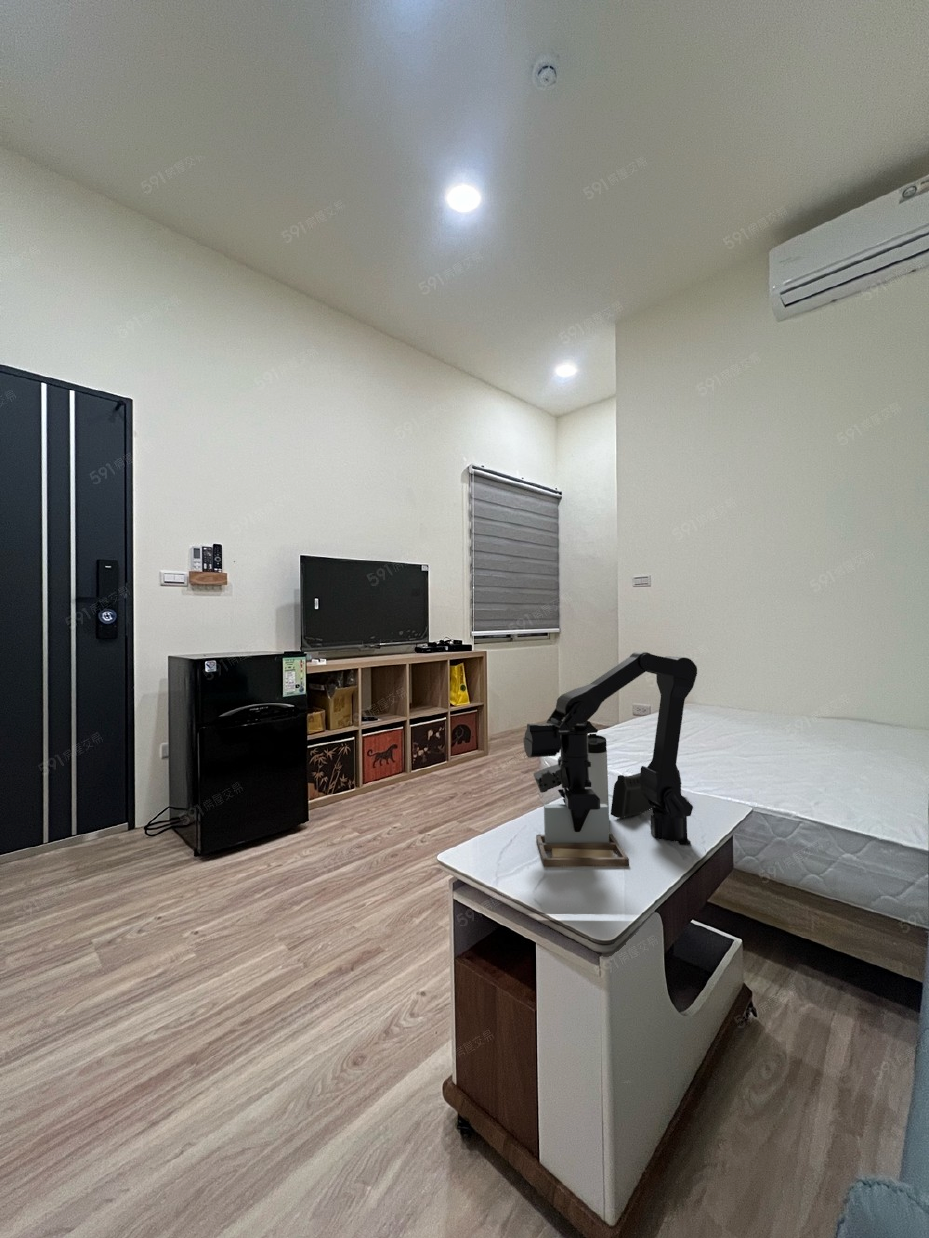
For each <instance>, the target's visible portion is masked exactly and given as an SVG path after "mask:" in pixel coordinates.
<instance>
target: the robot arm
mask: <svg viewBox="0 0 929 1238" xmlns="http://www.w3.org/2000/svg"><path fill="white" fill-rule="evenodd" d="M646 672H647V673H649V674H652V675H653V674H654V675H656V684H657V687H658V690H659V691H658V692H659V693H660V700H659V701H660V702H659V707H658V715H657V723H656V729H655V730H656V731H655V738H654V746H653V752H652V759H651V760H650V762H649V764H648V765H647V767H646V766H644V765H641V766H640V773H641V777H640V780H639V782H638V784H640V785H641V792H642V793H643V795H644V796H645V797H646V798H647V800H648V802H649V805H651V806H653V807H654V808H652V814H651V815H650V820H649V821H650V834H651V836H652V837H654V839H656V840H657V839H658V840H664V841H667V842H677V843H678V844H679V845H684V846H685V845H689V846H690V845H691V844H692V843H691V840H689V839H688V818H687V817H691V815H692V813H693V812H692V811H693V809H694V806H693V804H691V803H690V802H689V801H688V800H687V799H686V798H685V797H684V796H683V795H682V779H681V780H680V778H681V776H680V777H679V773H680V772H679V773H678V770H679V769H678V770H677V768H678V767H676V766H677V761H678V754H679V753H678V752H679V745H680V738H681V731H682V725H683V724H682V722H683V715H684V706H685V701H686V699H687V697H688V695H689V694H690V693H691V692H692V690H693V688H694V686H695V683H696V679H697V675H698V666H697V665H696V664H695V662H694V661H693V660H692V659H690V658H688V657H683V656H668V655H667V656H660V655H655V654H652V653H650V652H647V651H634V652H633V653H631V654H630V656H629V657H627V658H626V659H624V660H622V661H621V662H620V663H618V664H617V665H615V666H614V667H612V668H611V669H609V670H608V671H607V672H605V673H604V674H602V675H601V676H599V677H598V678H597V679H595V680H594V681H592V682H590V683H589V684H586V685H583V686H581V687H577V688H574V689H572V690H569V691H567V692H565V693H563V694H561V695H560V696H559V697H558V698H557V699H556V705H555V708H554V709H553V711H552V713H551V714H550V716H549V718H548V719H547V721H546V723H527V724H526V730H525V732H524V737H523V747H524V752H525V755H526V757H527V758H530V759H531V758H542V757H545V758H547V757H555V756H557V754H559V753H560V756H558V758H557V764H555V765H551V766H548V767H545V768H542V769H540V770H537V771H535V772H534V773H533V777H534V780H535V782H536V785H537V787H538V790H539V792H540V793H542V794H543V793H547V792H548V791H549V790H551V789H555V788H557V787H559V786H561V788H560V789H557V791H558V793H559V795H560V796H561V797H562V801H563V803H564V804H565V805H566V806H567V808H568V809H570V811H571V816H572V821H573V826H574V831H575V832H580V831H581V829H582V827H583V824H584V822H585V820H586V818H587V815H588V813H589V811H590V810H598V809H600V798H599V797H598V795H597V794H596V793H595V792H594V791H593V790H592V789H585V787H591V781H590V780H589V767H591V762H590V761H589V759H588V735H589V734H598V731H599V730H598V728H596V727H595V726H594V725H593V724H592V722H591V721H589V719H591V718H592V716H594V715H595V713H597V712H598V710H599V709H600V706H601V705H602V704H603V702H604V701H606V700H607V699H608V698H610V697H612V696H613V695H614V694H616V693H617V692H618V691H620V690H621V689H623V688H624V687H626V686H627V685H628V684H630V683H631V682H633V681H634V680H636V679H637V678H638V677H641V676H642V675H643V674H644V673H646Z"/></svg>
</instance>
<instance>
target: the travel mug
mask: <svg viewBox="0 0 929 1238" xmlns="http://www.w3.org/2000/svg"><path fill="white" fill-rule="evenodd" d="M607 745H608V744H607V738H606V737H604V736H602V735H599V734H597V733H588V759H589V761H590V762H591V767H589V780H590V781H591V787H585V789H592V790H593V791H594V792H595V793H596V794H597V795H598V797H599V798H600V804H606V805H607V806H608V821H609V820H610V808H609V807H610V806H609V804H610V803H609V800H610V799H609V777H608V776H609V775H608V774H609V773H608V750H607Z"/></svg>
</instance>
